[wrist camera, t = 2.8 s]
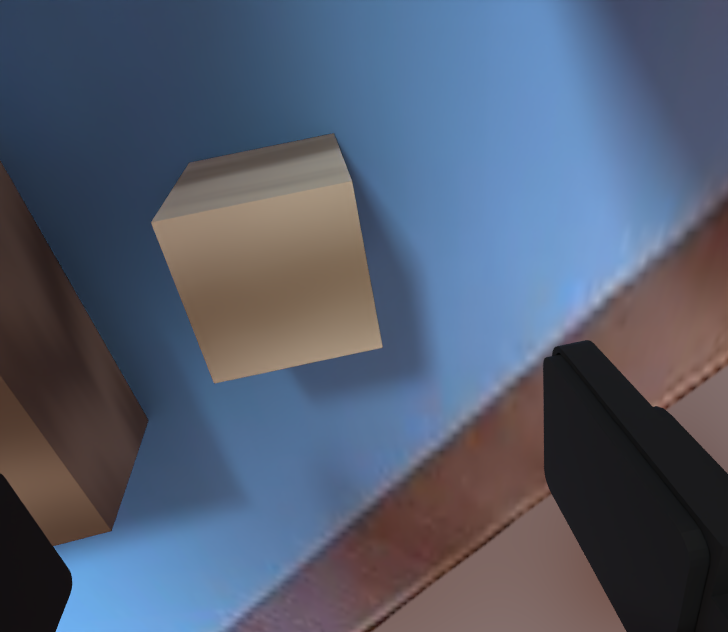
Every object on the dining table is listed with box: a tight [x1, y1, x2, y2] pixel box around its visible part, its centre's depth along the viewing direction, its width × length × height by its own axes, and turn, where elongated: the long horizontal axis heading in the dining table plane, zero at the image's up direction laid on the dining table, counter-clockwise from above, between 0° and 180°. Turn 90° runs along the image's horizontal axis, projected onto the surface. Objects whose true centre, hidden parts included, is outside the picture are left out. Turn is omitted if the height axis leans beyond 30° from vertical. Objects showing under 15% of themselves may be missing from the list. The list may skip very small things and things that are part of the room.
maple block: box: [151, 133, 383, 383], centre depth 17 cm, size 5×5×6 cm
